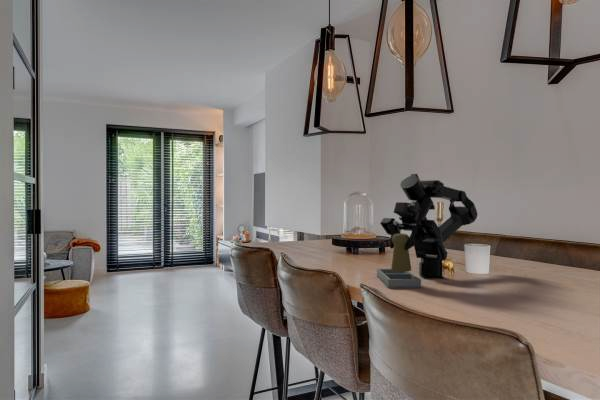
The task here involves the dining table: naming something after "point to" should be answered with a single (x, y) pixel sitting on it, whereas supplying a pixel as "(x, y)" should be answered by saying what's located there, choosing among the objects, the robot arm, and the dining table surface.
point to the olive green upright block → (400, 253)
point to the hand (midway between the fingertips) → (398, 248)
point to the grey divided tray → (398, 279)
